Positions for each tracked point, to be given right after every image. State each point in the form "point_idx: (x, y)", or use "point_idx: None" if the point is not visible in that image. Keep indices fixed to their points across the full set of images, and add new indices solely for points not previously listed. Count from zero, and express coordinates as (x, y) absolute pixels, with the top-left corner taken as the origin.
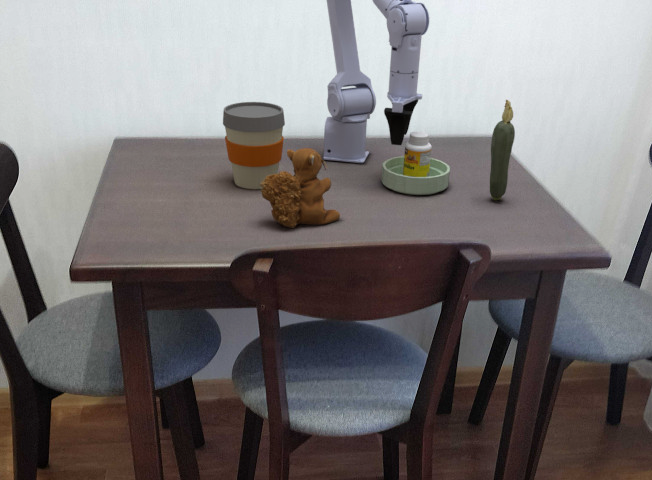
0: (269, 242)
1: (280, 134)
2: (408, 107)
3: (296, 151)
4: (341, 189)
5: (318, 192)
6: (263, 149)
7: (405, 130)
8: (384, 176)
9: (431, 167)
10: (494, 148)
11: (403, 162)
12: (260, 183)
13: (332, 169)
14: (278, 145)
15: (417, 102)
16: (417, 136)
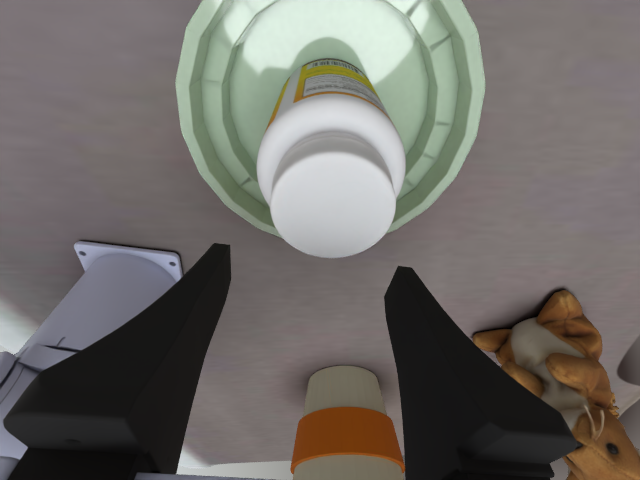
0: (612, 358)
1: (368, 471)
2: (172, 384)
3: None
4: (376, 287)
5: (606, 374)
6: (400, 456)
7: (225, 263)
8: None
9: (220, 39)
10: None
11: (222, 168)
12: None
13: (244, 304)
14: (379, 449)
15: (125, 399)
16: (389, 226)
